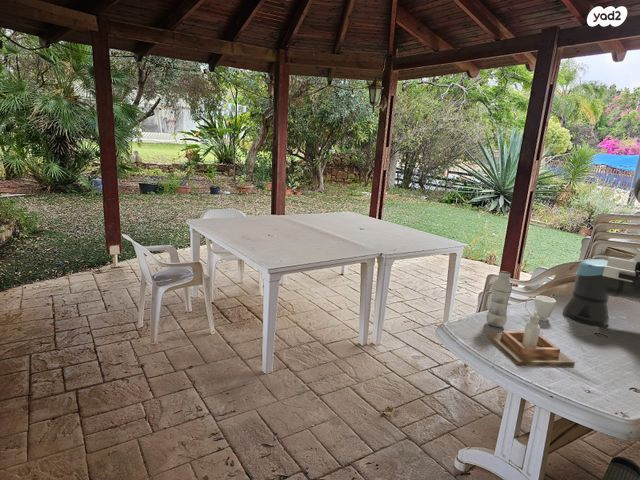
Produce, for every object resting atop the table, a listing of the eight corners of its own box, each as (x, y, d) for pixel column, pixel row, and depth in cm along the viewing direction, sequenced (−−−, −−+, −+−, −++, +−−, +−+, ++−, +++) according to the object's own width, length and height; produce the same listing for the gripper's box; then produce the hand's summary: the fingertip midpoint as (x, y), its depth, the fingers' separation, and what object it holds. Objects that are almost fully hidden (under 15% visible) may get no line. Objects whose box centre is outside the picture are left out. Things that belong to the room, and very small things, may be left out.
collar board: (536, 337, 138) (538, 327, 137) (574, 365, 120) (576, 354, 119) (486, 336, 135) (488, 326, 134) (518, 365, 118) (520, 354, 117)
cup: (551, 324, 150) (555, 303, 148) (522, 316, 155) (526, 296, 153) (552, 318, 156) (557, 298, 154) (524, 310, 161) (528, 291, 159)
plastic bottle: (507, 330, 141) (517, 276, 137) (487, 327, 143) (496, 274, 138) (502, 323, 147) (512, 271, 143) (483, 320, 149) (492, 268, 144)
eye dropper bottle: (519, 347, 126) (526, 312, 124) (522, 341, 131) (530, 307, 128) (534, 352, 124) (542, 316, 121) (537, 346, 128) (545, 311, 126)
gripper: (709, 314, 91) (598, 288, 104) (699, 288, 110) (606, 269, 123) (719, 283, 89) (605, 261, 102) (707, 262, 108) (612, 245, 121)
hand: (605, 265), depth 112 cm, fingers open, 13 cm apart
